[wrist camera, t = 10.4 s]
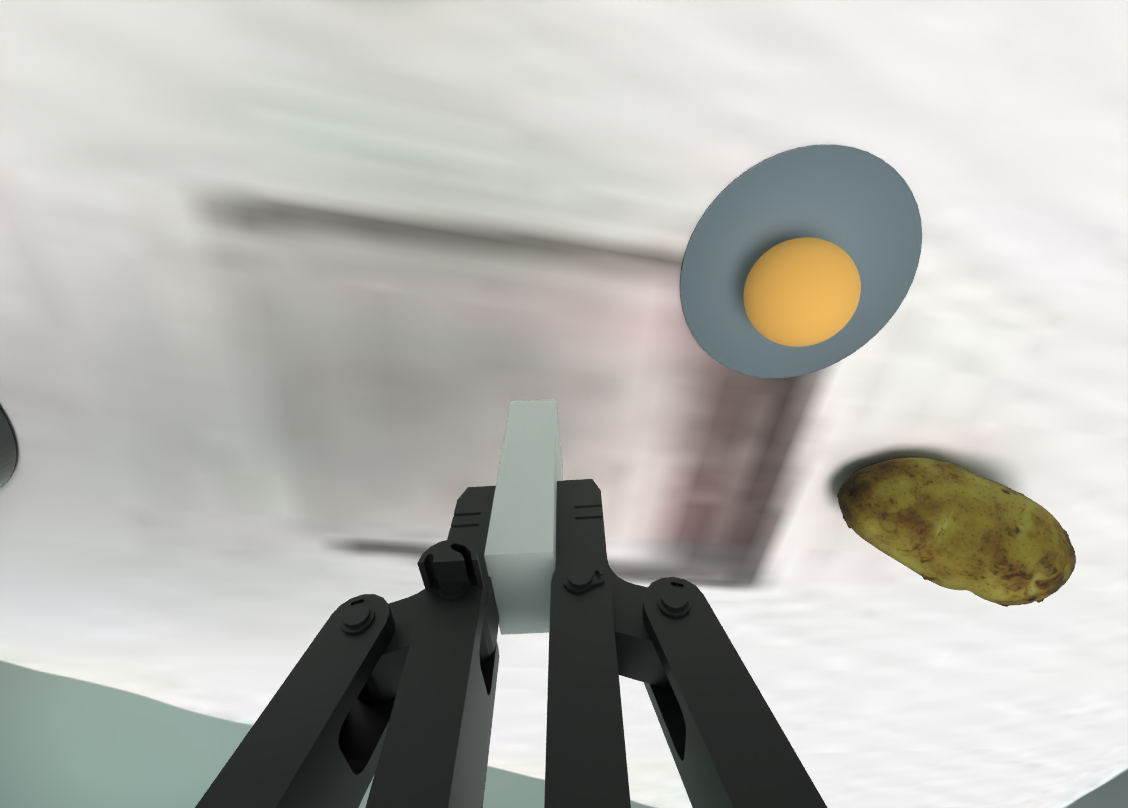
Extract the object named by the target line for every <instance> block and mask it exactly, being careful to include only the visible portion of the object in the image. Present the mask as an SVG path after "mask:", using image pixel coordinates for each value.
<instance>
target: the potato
mask: <svg viewBox="0 0 1128 808" xmlns="http://www.w3.org/2000/svg"><path fill="white" fill-rule="evenodd" d="M837 497H838V502H839V506H840V509H841V512H842V514H843V518H844V520H845V521H846V523H847V525H848V527H849V528H852V529H853V530H854V531H855V532H856V533H857V534H858V535H859V536H860V537H861V538H863V539H864V540H865V541H867V542H868V543H870V544H872V545H873V546H874V547H876V548H877V549H879V550H880V551H882V552H883V553H885V554H887V555H888V556H890V557H892V558H894V559H895V560H897V561H898V562H900V563H902V564H903V565H905V566H907V567H908V568H910V569H911V570H913V571H915V572H916V573H918V574H919V575H921V576H922V577H923V579H924V580H929V581H931V582H933V583H935V584H937V585H940V586H942V587H945V588H949V589H954V590H968V591H971V592H972V593H974V594H975V595H977V596H979V597H981V598H983V599H985V600H988V601H990V602H994V603H997V604H1000V605H1002V606H1006V607H1007V606H1009V605H1021V604H1028V603H1032V602H1034V601H1037V602H1041V601H1043V600H1044V598H1046V597H1048V596H1050V595H1051V594H1053V593H1055V592H1056V591H1057V590H1058V589H1059V588H1060V587H1062V586H1063V585H1064V584H1065V583H1066V581H1067V580H1068V579H1069V578H1070V576H1071V574H1072V572H1073V570H1074V568H1075V563H1076V556H1075V551H1074V548H1073V546H1072V545H1071V542H1070V539H1069V535H1068V534H1067V531H1065V530H1064V529H1063V528H1062V527H1061V525H1060V524H1059V522H1058V521H1057V520H1056V519H1055V518H1054V516H1053V515H1052V514H1050V513H1049V512H1048V511H1047V510H1046V509H1045V508H1043V507H1042V506H1041V505H1039V504H1037V503H1036V502H1034V501H1033V500H1031V499H1030V498H1028V497H1026V496H1024V494H1021V493H1018V492H1016V491H1014V490H1012V489H1010V488H1008V487H1006V486H1004V485H1001V484H999V483H997V482H994V481H991V480H988V479H985V478H983V477H980V476H978V475H975V474H973V473H971V472H970V471H968V470H966V469H964V468H962V467H960V466H958V465H955V464H952V463H948V462H944V461H939V460H934V459H928V458H897V459H891V460H887V461H883V462H880V463H877V464H873V465H870V466H867V467H864V468H862V469H859V470H858V471H856V472H855V473H853V474H852V475H851V476H850V477H849V478H848V479H847V480H846V481H845V483H844V484H843V485H842V487H841V488H840V490H839V492H838V494H837Z"/></svg>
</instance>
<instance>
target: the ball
mask: <svg viewBox="0 0 1128 808" xmlns="http://www.w3.org/2000/svg"><path fill="white" fill-rule="evenodd" d="M860 292H861V281H860V276H859V273H858V270H857V267H856V265H855V263H854V261H853V260H852V259H851V257H850V256H849V255H848V254H847V253H846V252H845V251H844V250H843V249H841V248H840V247H839V246H837V245H835V244H834V243H832V242H829V241H826V240H823V239H819V238H812V237H803V238H796V239H791V240H787V241H785V242H782V243H780V244H778V245H776V246H774V247H772V248H771V249H770V250H768V251H767V252H765V253H764V254H763V255H762V256H761V257H760V258H759V259H758V260H757V262H756V263H755V264H754V266H753V267H752V269H751V270H750V272H749V274H748V276H747V279H746V283H745V287H744V296H743V299H744V306H745V311H746V314H747V316H748V318H749V320H750V322H751V324H752V325H753V326H754V328H755V329H756V330H757V331H758V332H759V333H760V334H762V335H763V336H764V337H766V338H767V339H769V340H771V341H773V342H775V343H778V344H781V345H785V346H792V347H803V346H810V345H814V344H817V343H820V342H823V341H825V340H827V339H829V338H831V337H832V336H834V335H835V334H836V333H838V332H839V331H840V330H841V329H842V328H843V327H844V326H845V325H846V324H847V323H848V322H849V320H850V319H851V317H852V316H853V314H854V313H855V310H856V308H857V306H858V303H859V299H860Z"/></svg>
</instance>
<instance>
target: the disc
mask: <svg viewBox="0 0 1128 808" xmlns="http://www.w3.org/2000/svg"><path fill="white" fill-rule="evenodd" d="M803 237H812V238H819V239H823V240H826V241H829V242H832V243H834V244H835V245H837V246H839V247H840V248H841V249H843V250H844V251H845V252H846V253H847V254H848V255H849V256H850V257H851V259H852V260H853V261H854V263H855V265H856V267H857V270H858V273H859V276H860V281H861V292H860V299H859V303H858V306H857V308H856V310H855V313H854V314H853V316H852V317H851V319H850V320H849V322H848V323H847V324H846V325H845V326H844V327H843V328H842V329H841V330H840V331H839V332H838V333H836V334H835V335H834V336H832V337H831V338H829V339H827V340H825V341H823V342H820V343H817V344H814V345H810V346H803V347H792V346H785V345H781V344H778V343H775V342H773V341H771V340H769V339H767V338H766V337H764V336H763V335H762V334H760V333H759V332H758V331H757V330H756V329H755V328H754V326H753V325H752V324H751V322H750V320H749V318H748V316H747V314H746V311H745V306H744V299H743V296H744V287H745V283H746V279H747V276H748V274H749V272H750V270H751V269H752V267H753V266H754V264H755V263H756V262H757V260H758V259H759V258H760V257H761V256H762V255H763V254H764V253H765V252H767V251H768V250H770V249H771V248H772V247H774V246H776V245H778V244H780V243H782V242H785V241H787V240H791V239H796V238H803ZM921 244H922V227H921V218H920V214H919V209H918V205H917V203H916V201H915V198H914V196H913V193H912V191H911V190H910V188H909V187H908V185H907V183H906V182H905V180H904V179H903V178H902V177H901V176H900V175H899V174H898V172H897V171H896V170H895V169H894V168H893V167H891V166H890V165H889V164H887V163H886V162H885V161H883V160H882V159H880V158H878V157H876V156H874V155H872V154H870V153H868V152H865V151H862V150H859V149H855V148H852V147H846V146H838V145H814V146H808V147H801V148H797V149H793V150H790V151H786V152H783V153H780V154H778V155H776V156H773V157H771V158H769V159H766V160H764V161H763V162H761V163H759V164H757V165H756V166H754V167H752V168H751V169H749V170H748V171H746V172H745V173H743V174H742V175H741V176H739V177H738V178H737V179H735V180H734V181H733V182H732V183H731V184H730V185H729V186H728V187H727V188H726V189H724V190H723V191H722V192H721V193H720V194H719V196H718V197H717V198H716V199H715V200H714V201H713V203H712V204H711V205H710V206H709V207H708V209H707V210H706V212H705V213H704V215H703V216H702V218H701V219H700V221H699V222H698V224H697V226H696V228H695V230H694V232H693V234H692V236H691V238H690V241H689V244H688V246H687V249H686V252H685V256H684V260H683V264H682V269H681V278H680V297H681V303H682V309H683V313H684V316H685V319H686V322H687V324H688V326H689V328H690V330H691V332H692V334H693V336H694V338H695V339H696V340H697V342H698V343H699V345H700V346H701V347H702V348H703V349H704V350H705V351H706V352H707V353H708V354H709V355H710V356H711V357H712V358H714V359H715V360H716V361H718V362H719V363H720V364H722V365H724V366H726V367H728V368H729V369H732V370H734V371H737V372H739V373H742V374H746V375H750V376H754V377H763V378H786V377H794V376H800V375H804V374H808V373H812V372H815V371H818V370H820V369H823V368H826V367H828V366H830V365H832V364H835V363H837V362H839V361H840V360H842V359H844V358H846V357H847V356H849V355H851V354H852V353H854V352H855V351H856V350H858V349H859V348H861V347H862V346H863V345H865V344H866V343H867V342H868V341H869V340H870V339H872V338H873V337H874V336H875V335H876V334H877V333H878V332H879V331H880V330H881V329H882V328H883V327H884V326H885V325H886V324H887V322H888V321H889V320H890V319H891V317H892V316H893V315H894V313H895V312H896V311H897V309H898V308H899V306H900V305H901V303H902V301H903V300H904V298H905V296H906V294H907V292H908V290H909V288H910V286H911V284H912V282H913V279H914V276H915V273H916V270H917V267H918V263H919V258H920V253H921Z"/></svg>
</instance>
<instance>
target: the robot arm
mask: <svg viewBox="0 0 1128 808" xmlns="http://www.w3.org/2000/svg"><path fill="white" fill-rule="evenodd" d="M15 463H16V446H15V441H14V437H13V434H12V431H11V429H10V426H9V424H8V422H7V420H6V418H5V417H4V415H3V413H2V412H1V410H0V487H1V486H3V485H4V484H5V483H6V482H7V481H8V479H9V478H10V476H11V475H12V473H13V471H14V468H15ZM418 566H419V570H420V573H421V576H422V579H423V583H424V586H425V589H424V590H422V591H421V592H419V593H418V594H415V595H413V596H410V597H408V598H405V599H402V600H399V601H396V602H393V603H390V604H388V603H387V602H386V601H385V599H384V598H383V597H380V596H377V595H375V594H364V595H360V596H357V597H354V598H351V599H350V600H348V601H347V602H345V603H343V604H342V605H340V606H339V607H338V608H337V610H336V611H335V612H334V613H333V614H332V615H331V616H330V618H329V619H328V621H327V622H326V623H325V625H324V626H323V628H322V629H321V630H320V632H319V633H318V635H317V636H316V638H315V639H314V640H313V642H312V643H311V645H310V646H309V647H308V649H307V650H306V652H305V653H304V654H303V656H302V657H301V659H300V660H299V662H298V663H297V664H296V666H295V667H294V669H293V670H292V671H291V673H290V674H289V676H288V677H287V678H286V680H285V681H284V683H283V684H282V686H281V687H280V688H279V690H278V691H277V693H276V694H275V695H274V697H273V698H272V700H271V701H270V702H269V704H268V705H267V707H266V708H265V710H264V711H263V712H262V714H261V715H260V717H259V718H258V719H257V721H256V722H255V724H254V725H253V727H252V728H251V729H250V731H249V732H248V734H247V735H246V736H245V738H244V739H243V741H242V742H241V743H240V745H239V746H238V748H237V749H236V751H235V752H234V753H233V755H232V756H231V758H230V759H229V760H228V762H227V763H226V765H225V766H224V767H223V769H222V770H221V772H220V773H219V775H218V776H217V778H216V779H215V780H214V782H213V783H212V784H211V786H210V788H209V789H208V790H207V792H206V793H205V794H204V796H203V797H202V799H201V800H200V801H199V803H198V804H197V806H196V807H195V808H358V807H359V805H360V803H361V801H362V799H363V796H364V794H365V792H366V790H367V788H368V786H369V784H370V782H371V780H372V778H373V776H374V779H373V782H372V786H371V790H370V793H369V797H368V800H367V805H366V808H483V799H484V790H485V781H486V772H487V763H488V754H489V745H490V736H491V727H492V718H493V708H494V699H495V690H496V681H497V672H498V663H499V650H498V644H497V633H498V625H499V627H500V631H501V635H502V634H523V633H544V632H549V666H548V701H547V736H546V772H545V808H631V805H630V794H629V783H628V772H627V762H626V751H625V740H624V729H623V718H622V707H621V696H620V685H619V675H621V676H625V677H628V678H632V679H635V680H638V681H642V682H644V684H645V687H646V689H647V692H648V694H649V697H650V699H651V702H652V705H653V707H654V710H655V712H656V715H657V717H658V720H659V722H660V725H661V728H662V730H663V733H664V735H665V738H666V740H667V743H668V745H669V748H670V751H671V753H672V756H673V758H674V761H675V763H676V766H677V769H678V771H679V774H680V776H681V779H682V781H683V784H684V786H685V789H686V792H687V794H688V797H689V799H690V802H691V804H692V807H693V808H827V806H826V804H825V803H824V801H823V799H822V798H821V796H820V794H819V792H818V791H817V789H816V787H815V785H814V784H813V782H812V780H811V779H810V777H809V775H808V773H807V772H806V770H805V768H804V767H803V765H802V763H801V761H800V760H799V758H798V756H797V755H796V753H795V751H794V749H793V748H792V746H791V744H790V743H789V741H788V739H787V737H786V736H785V734H784V732H783V730H782V729H781V727H780V725H779V724H778V722H777V720H776V718H775V717H774V715H773V713H772V712H771V710H770V708H769V706H768V705H767V703H766V701H765V700H764V698H763V696H762V694H761V693H760V691H759V689H758V687H757V686H756V684H755V682H754V681H753V679H752V677H751V675H750V674H749V672H748V670H747V669H746V667H745V665H744V663H743V662H742V660H741V658H740V657H739V655H738V653H737V651H736V650H735V648H734V646H733V645H732V643H731V641H730V639H729V638H728V636H727V634H726V632H725V631H724V629H723V627H722V626H721V624H720V622H719V620H718V619H717V617H716V615H715V614H714V612H713V610H712V608H711V607H710V605H709V603H708V602H707V600H706V598H705V596H704V595H703V593H702V592H701V591H700V590H699V589H698V588H697V587H696V586H695V585H694V584H692V583H690V582H688V581H687V580H684V579H680V578H675V577H669V578H661V579H659V580H657V581H655V582H652V583H651V584H650V586H649V587H643V586H639V585H635V584H632V583H629V582H626V581H624V580H622V579H621V578H619V577H618V576H617V575H616V574H615V573H614V572H613V571H612V570H611V568H610V566H609V564H608V560H607V553H606V542H605V532H604V521H603V510H602V500H601V490H600V489H599V488H598V486H597V485H596V484H595V482H594V481H593V479H583V480H566V481H563V464H562V453H561V442H560V432H559V421H558V411H557V400H556V398H553V399H537V400H522V401H510V406H509V412H508V418H507V424H506V430H505V436H504V441H503V447H502V453H501V459H500V465H499V471H498V477H497V483H496V486H484V487H468V488H467V489H466V490H465V492H464V493H463V494H462V495H461V496H460V498H459V499H458V500H457V504H456V508H455V512H454V517H453V520H452V523H451V528H450V531H449V535H448V539H447V540H446V541H441V542H439V543H437V544H435V545H433V546H431V547H430V548H429V549H428V550H426V551H425V552H424V553H423V554H422V556H421V558H420V559H419V561H418ZM374 774H375V775H374Z"/></svg>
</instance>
